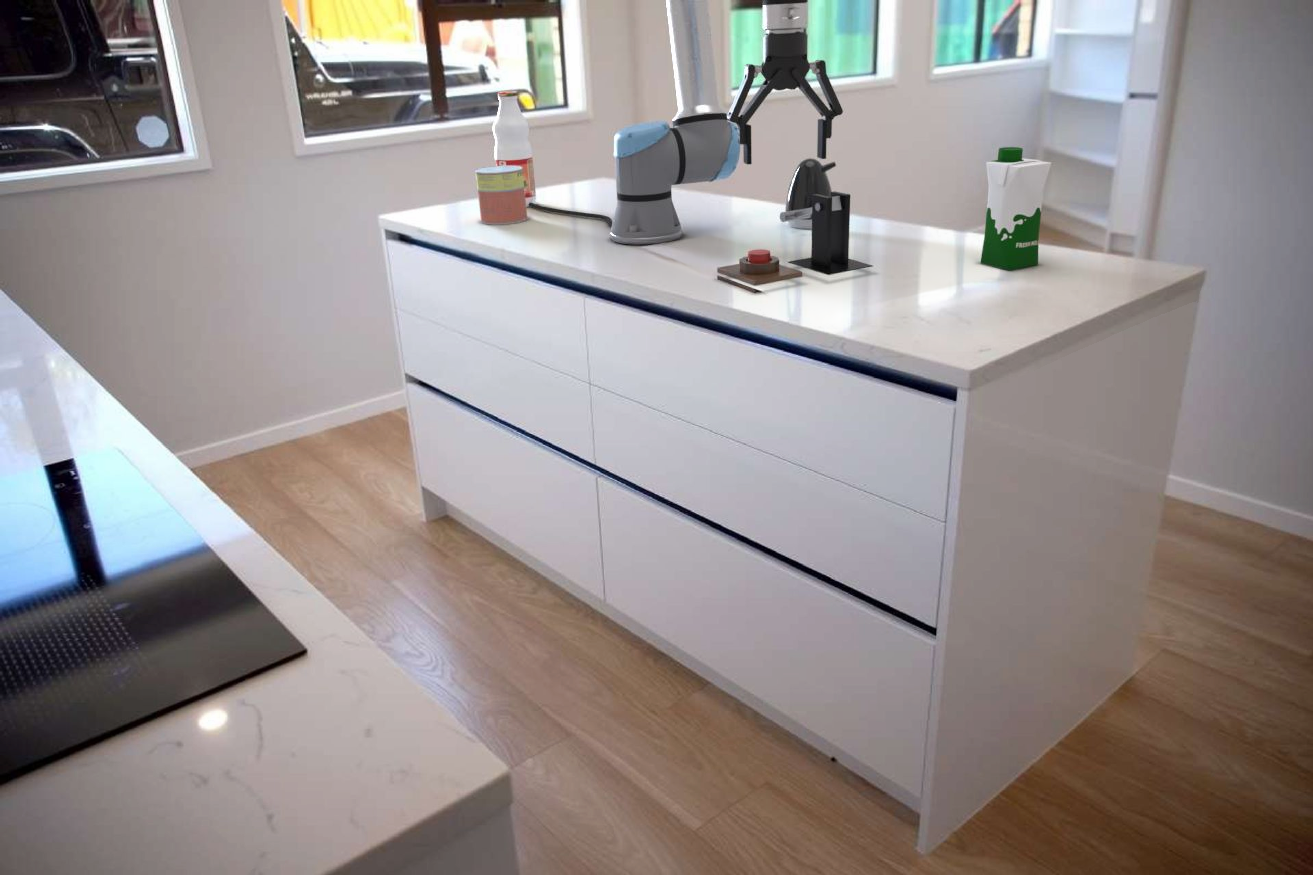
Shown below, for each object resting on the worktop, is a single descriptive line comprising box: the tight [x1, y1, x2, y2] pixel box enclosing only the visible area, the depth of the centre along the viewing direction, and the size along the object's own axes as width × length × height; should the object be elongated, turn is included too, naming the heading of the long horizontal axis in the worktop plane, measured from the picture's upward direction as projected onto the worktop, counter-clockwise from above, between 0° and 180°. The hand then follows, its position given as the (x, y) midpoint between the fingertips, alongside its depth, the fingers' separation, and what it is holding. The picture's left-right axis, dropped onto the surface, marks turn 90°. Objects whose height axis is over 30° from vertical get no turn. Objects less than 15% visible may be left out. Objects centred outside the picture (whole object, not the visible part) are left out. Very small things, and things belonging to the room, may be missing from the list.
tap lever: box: [779, 196, 842, 223], centre depth 181 cm, size 13×6×2 cm, turn 29°
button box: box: [716, 255, 803, 294], centre depth 175 cm, size 12×10×4 cm
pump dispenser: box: [784, 157, 837, 230], centre depth 210 cm, size 10×10×15 cm
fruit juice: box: [492, 90, 537, 208], centre depth 252 cm, size 9×9×28 cm
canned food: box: [474, 165, 529, 226], centre depth 238 cm, size 11×11×12 cm
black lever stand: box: [787, 190, 874, 276], centre depth 178 cm, size 12×10×14 cm
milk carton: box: [979, 146, 1052, 271], centre depth 176 cm, size 9×9×20 cm
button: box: [747, 248, 772, 263], centre depth 174 cm, size 4×4×2 cm
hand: (784, 161), depth 177 cm, fingers open, 13 cm apart
